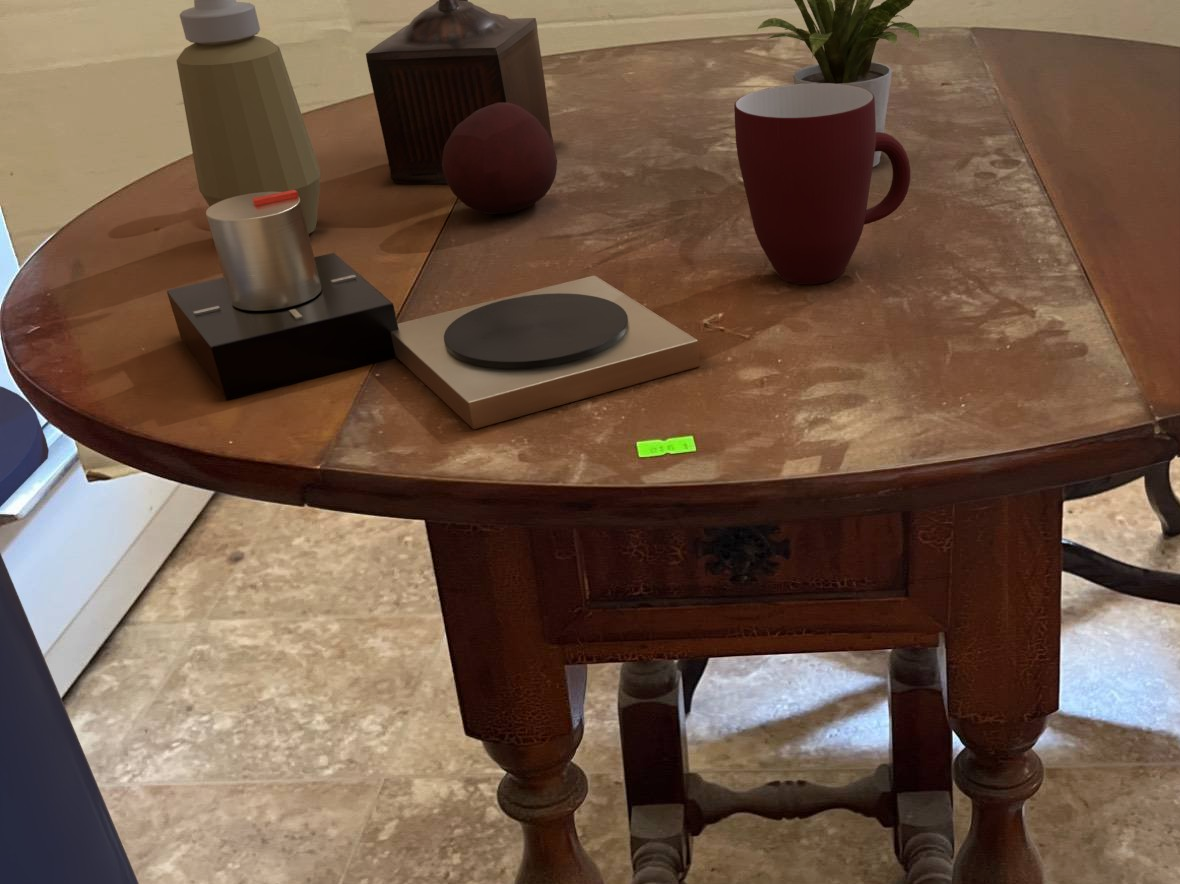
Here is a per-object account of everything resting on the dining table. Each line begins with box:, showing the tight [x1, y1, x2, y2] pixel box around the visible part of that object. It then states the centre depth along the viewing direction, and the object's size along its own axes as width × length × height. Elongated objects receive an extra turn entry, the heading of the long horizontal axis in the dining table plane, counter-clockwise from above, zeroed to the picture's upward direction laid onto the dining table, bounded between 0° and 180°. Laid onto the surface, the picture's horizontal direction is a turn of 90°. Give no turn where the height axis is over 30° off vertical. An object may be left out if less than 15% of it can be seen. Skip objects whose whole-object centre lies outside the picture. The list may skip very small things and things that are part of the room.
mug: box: [733, 83, 911, 285], centre depth 87 cm, size 11×8×10 cm
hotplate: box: [391, 275, 701, 430], centre depth 80 cm, size 13×13×2 cm
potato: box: [442, 102, 558, 215], centre depth 102 cm, size 7×8×7 cm
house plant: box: [756, 0, 921, 168], centre depth 103 cm, size 14×14×16 cm
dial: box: [205, 190, 321, 311], centre depth 81 cm, size 5×5×5 cm
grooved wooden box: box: [365, 0, 555, 185], centre depth 109 cm, size 16×11×18 cm
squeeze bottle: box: [176, 0, 322, 235], centre depth 97 cm, size 8×8×18 cm
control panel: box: [166, 252, 399, 401], centre depth 84 cm, size 10×11×3 cm
